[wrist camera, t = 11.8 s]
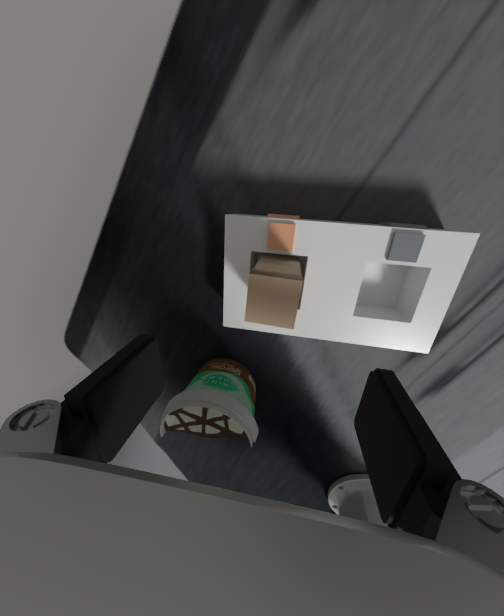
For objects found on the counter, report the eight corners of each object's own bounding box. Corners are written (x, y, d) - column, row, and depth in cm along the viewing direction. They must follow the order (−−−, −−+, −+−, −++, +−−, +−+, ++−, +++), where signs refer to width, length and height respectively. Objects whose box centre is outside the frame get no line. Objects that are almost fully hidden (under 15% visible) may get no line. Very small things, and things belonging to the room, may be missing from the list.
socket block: (406, 331, 29) (430, 355, 24) (233, 309, 32) (222, 327, 27) (445, 226, 24) (485, 230, 19) (236, 210, 27) (224, 211, 22)
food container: (264, 352, 33) (253, 406, 24) (265, 387, 36) (256, 447, 27) (183, 349, 35) (145, 398, 26) (189, 382, 38) (156, 437, 29)
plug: (293, 290, 28) (293, 329, 19) (259, 285, 29) (244, 321, 19) (299, 256, 27) (303, 281, 17) (263, 251, 27) (249, 273, 18)
